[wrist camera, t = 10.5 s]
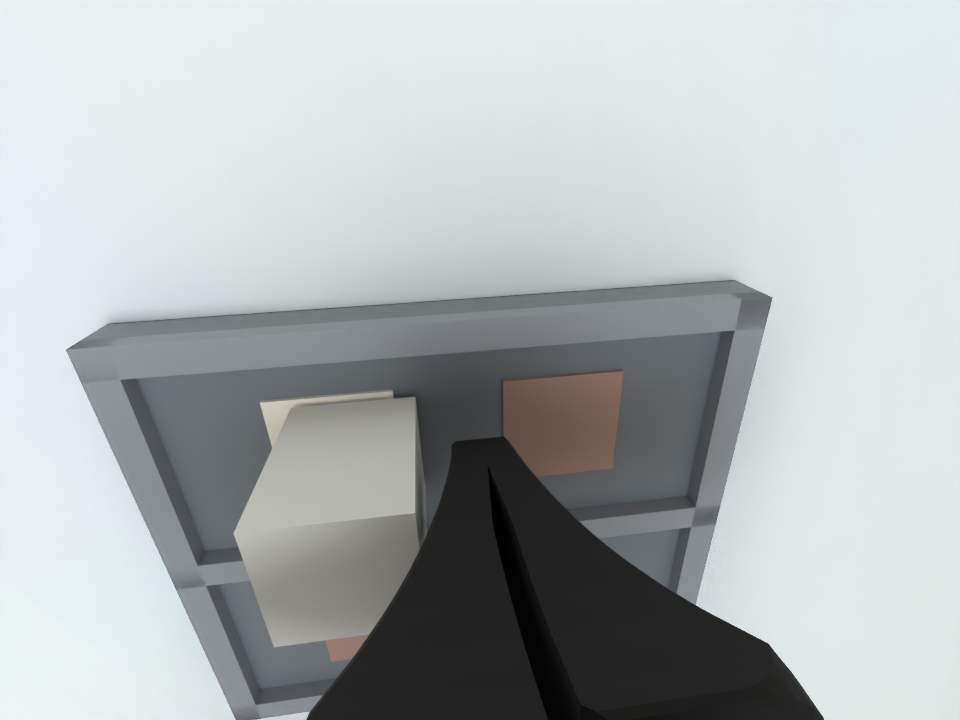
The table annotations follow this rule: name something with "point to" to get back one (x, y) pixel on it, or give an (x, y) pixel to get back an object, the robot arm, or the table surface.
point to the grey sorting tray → (428, 430)
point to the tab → (335, 519)
